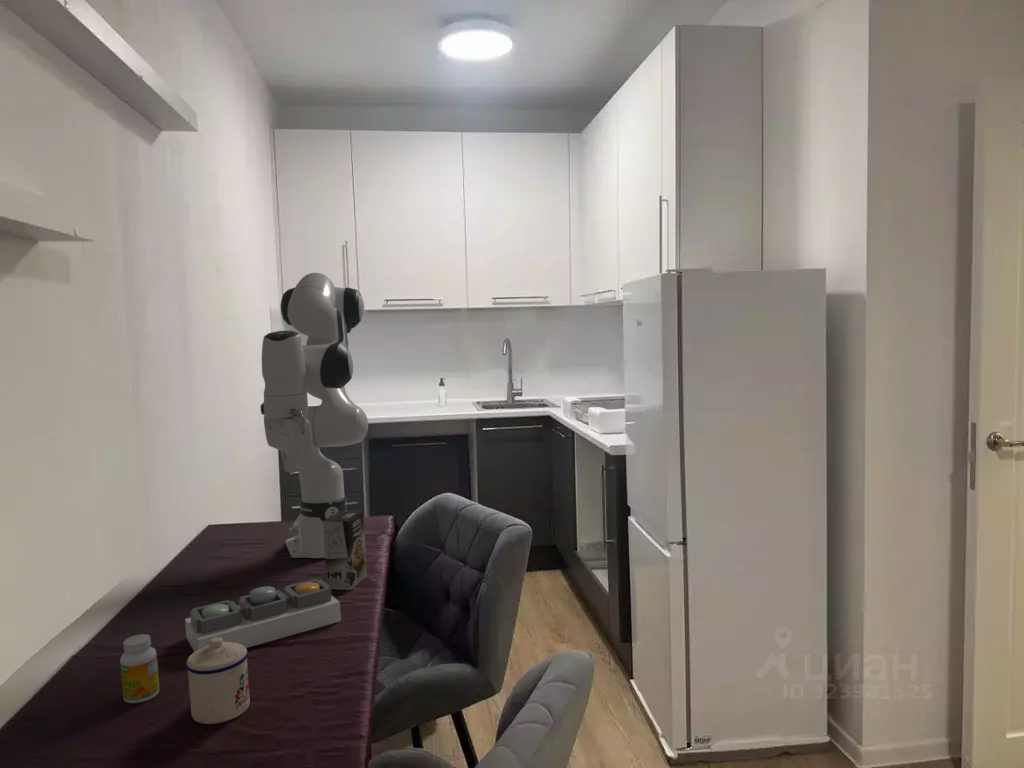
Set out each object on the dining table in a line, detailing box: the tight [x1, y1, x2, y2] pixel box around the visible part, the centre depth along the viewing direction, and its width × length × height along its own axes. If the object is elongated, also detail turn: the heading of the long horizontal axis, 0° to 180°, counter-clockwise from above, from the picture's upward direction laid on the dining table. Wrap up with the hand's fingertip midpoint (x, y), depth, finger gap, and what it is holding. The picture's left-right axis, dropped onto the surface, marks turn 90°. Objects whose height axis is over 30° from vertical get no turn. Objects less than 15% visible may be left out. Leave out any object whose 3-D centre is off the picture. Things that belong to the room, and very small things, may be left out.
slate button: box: [249, 586, 276, 605], centre depth 144 cm, size 5×5×2 cm
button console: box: [184, 578, 342, 653], centre depth 144 cm, size 12×27×6 cm, turn 125°
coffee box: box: [323, 510, 368, 591], centre depth 168 cm, size 9×6×16 cm
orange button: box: [295, 582, 320, 595], centre depth 149 cm, size 5×5×2 cm
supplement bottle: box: [119, 633, 160, 704], centre depth 120 cm, size 5×5×10 cm
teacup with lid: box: [185, 637, 251, 725], centre depth 116 cm, size 12×9×12 cm
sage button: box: [202, 604, 229, 619], centre depth 139 cm, size 5×5×2 cm
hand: (290, 471), depth 155 cm, fingers closed
